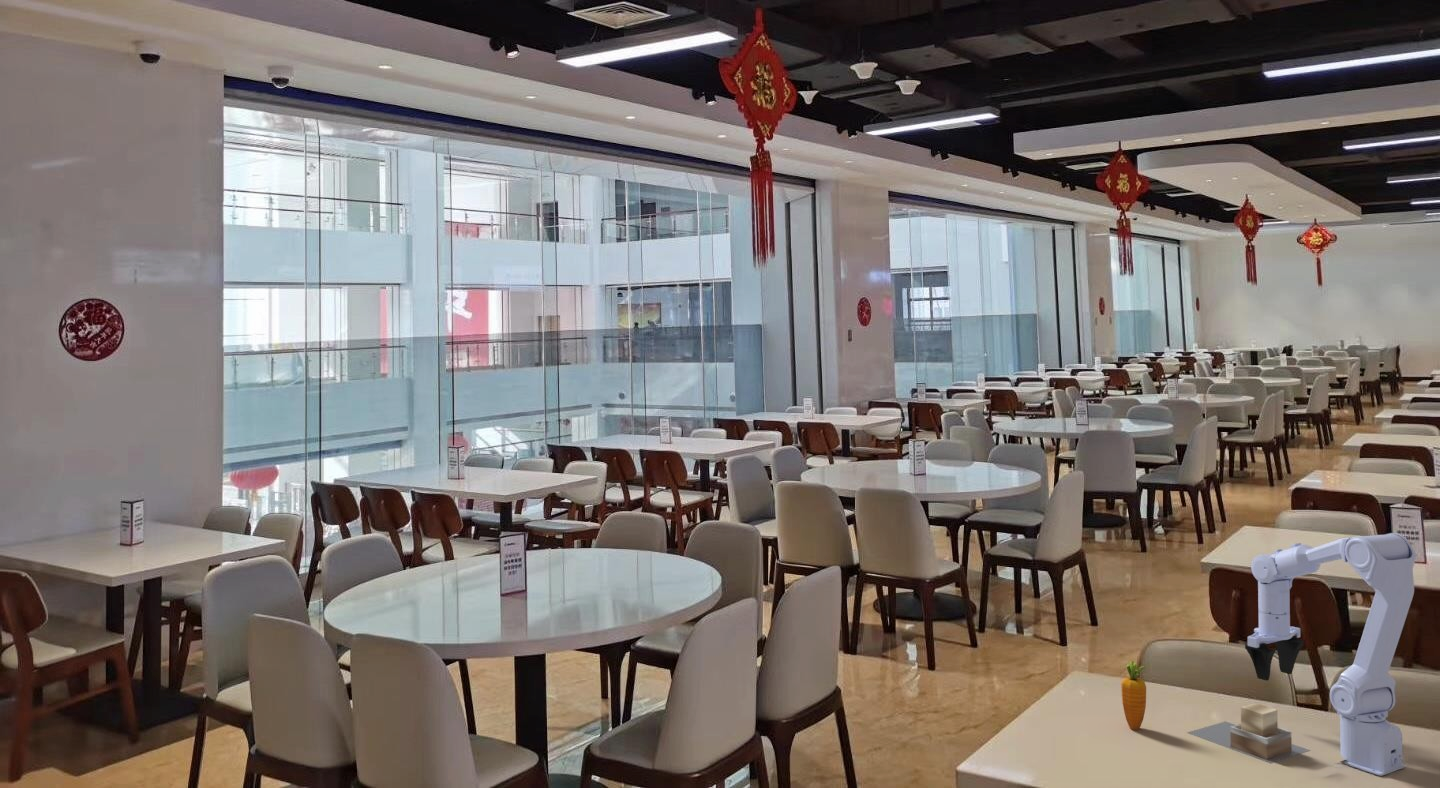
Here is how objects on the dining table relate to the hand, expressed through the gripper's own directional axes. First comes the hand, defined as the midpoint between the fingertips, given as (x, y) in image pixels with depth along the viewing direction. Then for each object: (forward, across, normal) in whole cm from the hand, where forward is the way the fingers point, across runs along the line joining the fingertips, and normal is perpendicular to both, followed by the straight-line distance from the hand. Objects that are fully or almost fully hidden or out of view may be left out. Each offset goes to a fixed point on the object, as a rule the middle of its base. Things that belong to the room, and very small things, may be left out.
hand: (1274, 676), depth 207 cm
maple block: (+6, +16, +8) cm, 19 cm away
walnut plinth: (+10, +16, +8) cm, 21 cm away
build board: (+10, +15, +4) cm, 19 cm away
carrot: (+11, +28, -12) cm, 32 cm away
